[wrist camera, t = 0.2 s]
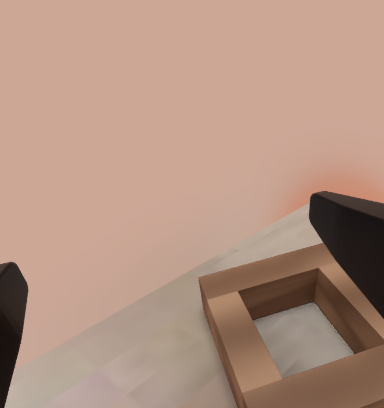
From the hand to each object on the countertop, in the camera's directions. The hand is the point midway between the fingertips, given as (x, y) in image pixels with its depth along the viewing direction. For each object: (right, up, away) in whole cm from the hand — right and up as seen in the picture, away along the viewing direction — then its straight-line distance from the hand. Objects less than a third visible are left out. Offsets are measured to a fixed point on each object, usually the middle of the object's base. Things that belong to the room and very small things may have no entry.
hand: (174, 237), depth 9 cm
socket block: (+9, -10, +14) cm, 19 cm away
